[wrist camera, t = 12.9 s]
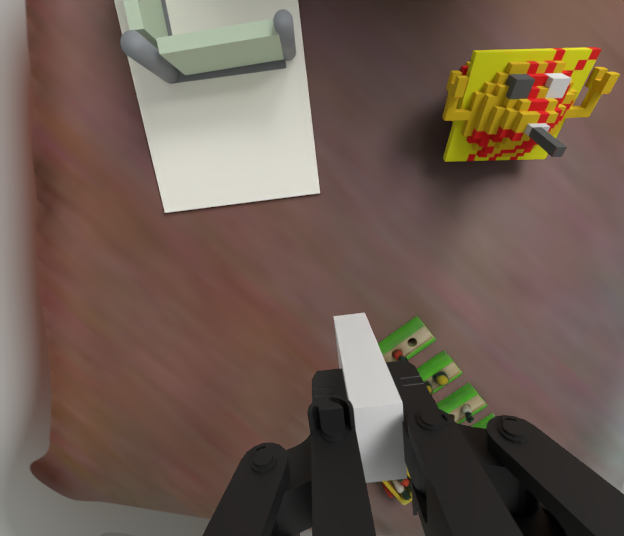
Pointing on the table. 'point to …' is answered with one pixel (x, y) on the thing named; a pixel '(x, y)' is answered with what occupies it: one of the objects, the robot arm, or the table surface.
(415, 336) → the toy garden set
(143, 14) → the fence fixed
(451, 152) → the toy
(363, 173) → the table surface
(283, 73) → the card
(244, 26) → the fence panel
